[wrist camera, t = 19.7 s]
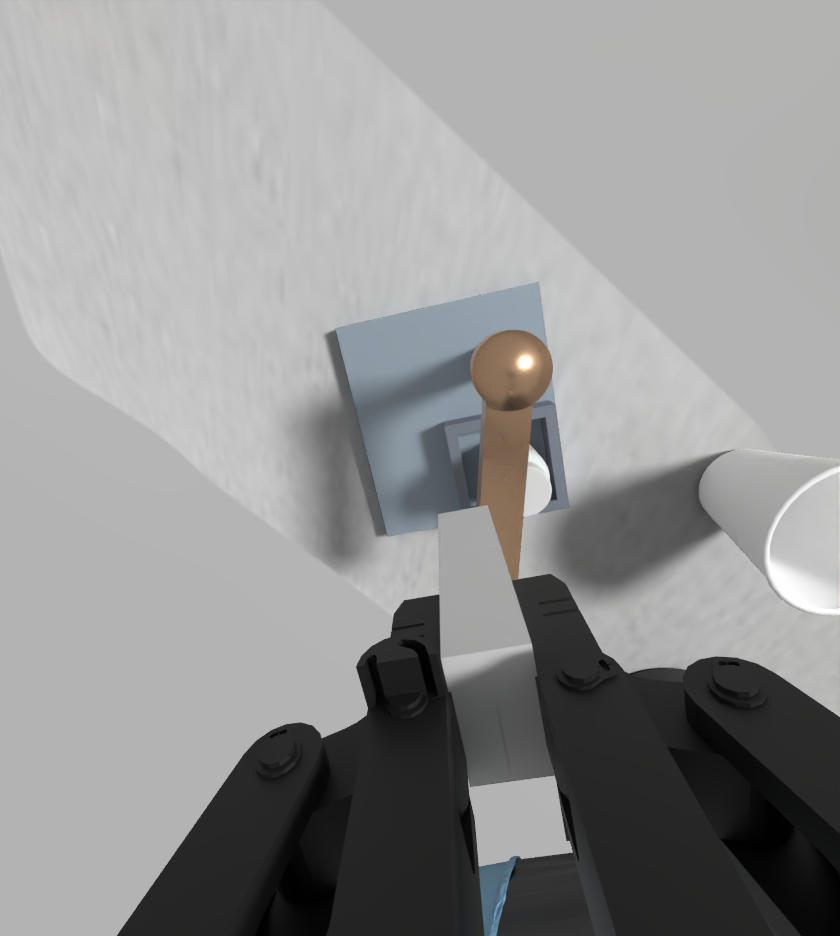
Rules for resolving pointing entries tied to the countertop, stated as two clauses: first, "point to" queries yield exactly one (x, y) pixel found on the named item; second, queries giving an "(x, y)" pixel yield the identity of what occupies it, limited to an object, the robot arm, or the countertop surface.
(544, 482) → the pill bottle
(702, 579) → the countertop surface
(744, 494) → the cup
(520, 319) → the board
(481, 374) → the lever
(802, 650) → the countertop surface
